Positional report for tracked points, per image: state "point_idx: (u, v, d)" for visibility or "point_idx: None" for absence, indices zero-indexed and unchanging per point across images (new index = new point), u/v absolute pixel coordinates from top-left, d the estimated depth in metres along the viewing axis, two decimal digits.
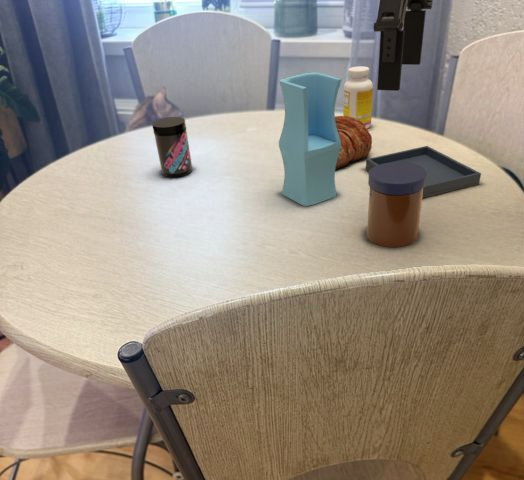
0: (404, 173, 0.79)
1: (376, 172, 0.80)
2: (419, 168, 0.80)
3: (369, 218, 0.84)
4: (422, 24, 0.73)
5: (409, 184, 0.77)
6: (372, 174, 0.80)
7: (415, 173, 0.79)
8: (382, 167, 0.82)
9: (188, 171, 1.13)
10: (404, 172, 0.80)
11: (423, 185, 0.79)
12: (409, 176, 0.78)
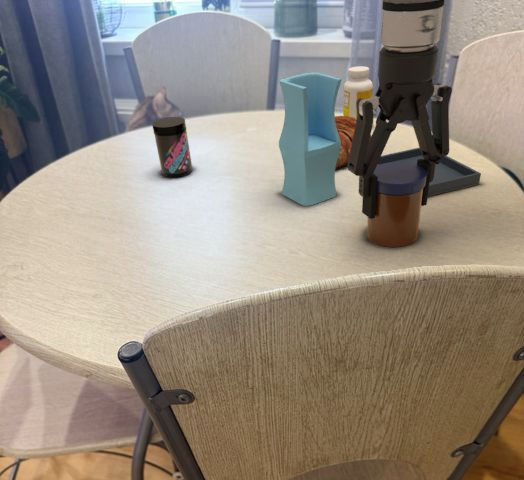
0: (404, 173, 0.79)
1: (376, 172, 0.80)
2: (419, 168, 0.80)
3: (369, 218, 0.84)
4: None
5: (409, 184, 0.77)
6: None
7: (415, 173, 0.79)
8: (382, 167, 0.82)
9: (188, 171, 1.13)
10: (404, 172, 0.80)
11: (423, 185, 0.79)
12: (409, 176, 0.78)
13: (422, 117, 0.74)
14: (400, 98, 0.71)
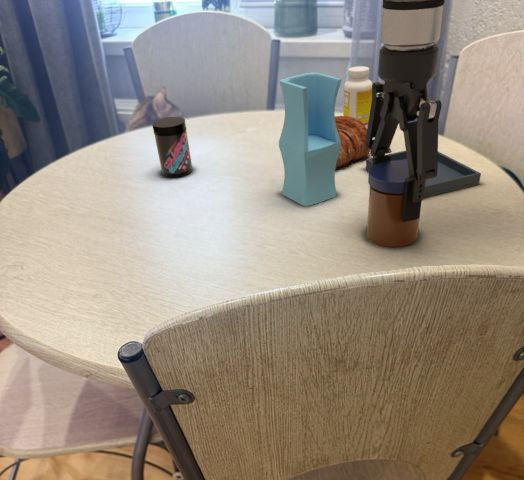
0: (399, 168, 0.80)
1: (397, 179, 0.77)
2: (387, 162, 0.82)
3: (369, 218, 0.84)
4: (405, 188, 0.77)
5: None
6: (403, 180, 0.77)
7: (400, 164, 0.82)
8: (383, 176, 0.78)
9: (188, 171, 1.13)
10: (397, 168, 0.80)
11: None
12: (407, 166, 0.81)
13: None
14: None
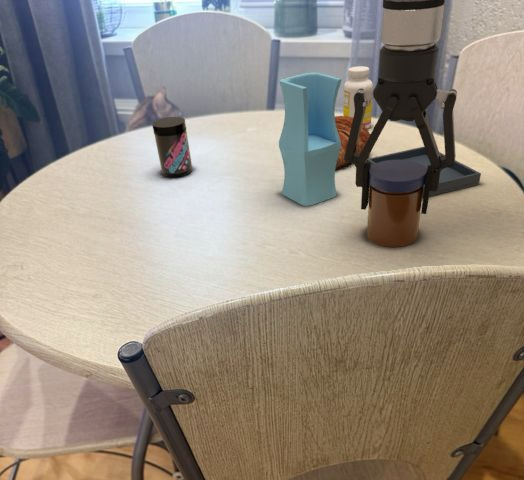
0: (393, 167, 0.80)
1: (414, 175, 0.78)
2: (374, 167, 0.81)
3: (369, 218, 0.84)
4: (425, 181, 0.78)
5: None
6: (421, 174, 0.78)
7: (385, 165, 0.81)
8: (401, 177, 0.77)
9: (188, 171, 1.13)
10: (392, 168, 0.80)
11: None
12: (395, 164, 0.81)
13: None
14: None
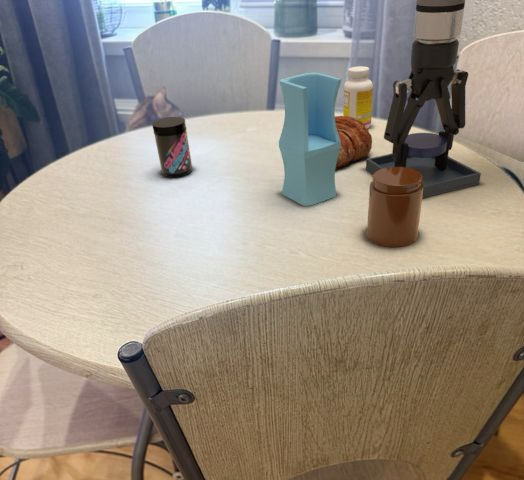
0: (418, 139, 1.00)
1: (440, 140, 0.99)
2: None
3: (369, 218, 0.84)
4: None
5: None
6: (443, 138, 0.99)
7: (409, 139, 1.00)
8: (436, 144, 0.97)
9: (188, 171, 1.13)
10: (417, 140, 0.99)
11: None
12: (413, 137, 1.01)
13: None
14: None
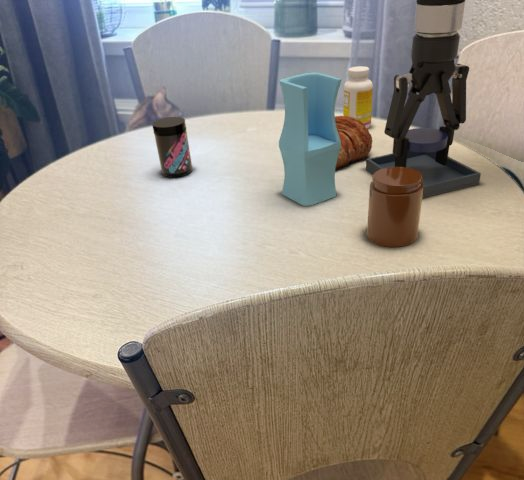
0: (418, 134, 0.99)
1: (441, 135, 0.98)
2: None
3: (369, 218, 0.84)
4: None
5: None
6: (444, 133, 0.99)
7: (409, 134, 0.99)
8: (437, 138, 0.97)
9: (188, 171, 1.13)
10: (418, 135, 0.99)
11: None
12: (414, 132, 1.00)
13: None
14: None
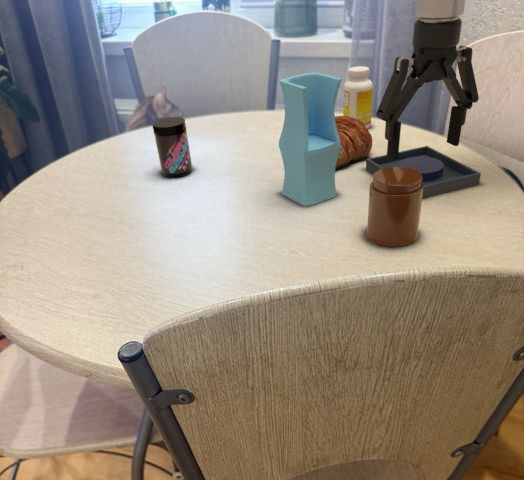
0: (415, 164, 1.03)
1: (437, 164, 1.02)
2: None
3: (369, 218, 0.84)
4: (458, 118, 0.98)
5: None
6: (440, 163, 1.02)
7: (407, 163, 1.03)
8: (433, 168, 1.00)
9: (188, 171, 1.13)
10: (415, 164, 1.02)
11: None
12: (411, 161, 1.04)
13: None
14: None
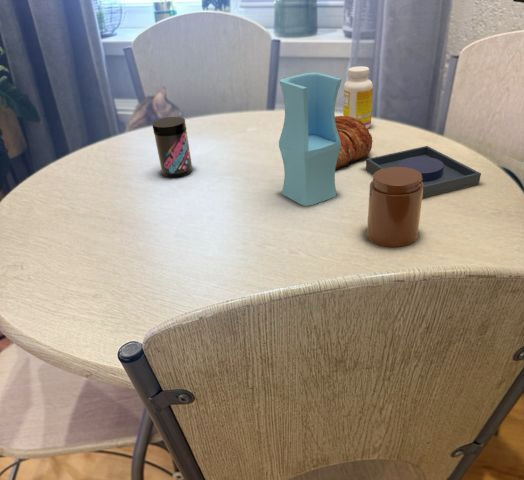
0: (415, 164, 1.03)
1: (437, 164, 1.02)
2: None
3: (369, 218, 0.84)
4: None
5: None
6: (440, 163, 1.02)
7: (407, 163, 1.03)
8: (433, 168, 1.00)
9: (188, 171, 1.13)
10: (415, 164, 1.02)
11: None
12: (411, 161, 1.04)
13: None
14: None
